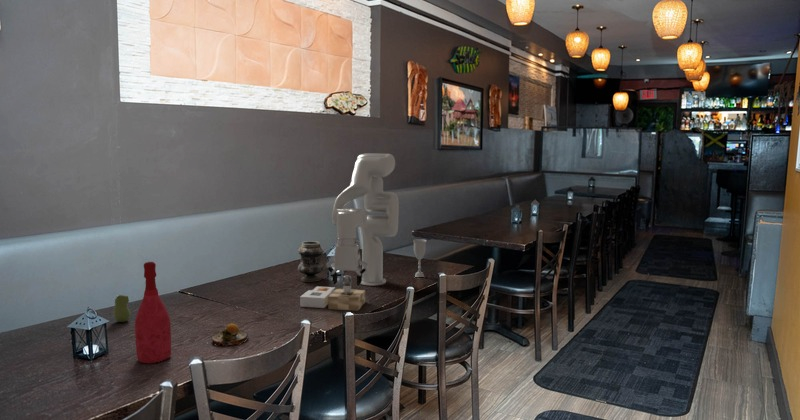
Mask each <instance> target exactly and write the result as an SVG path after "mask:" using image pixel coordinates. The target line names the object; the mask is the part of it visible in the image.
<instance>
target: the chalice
mask: <svg viewBox="0 0 800 420" xmlns="http://www.w3.org/2000/svg"><path fill="white" fill-rule="evenodd" d="M412 241H413V253H414V255H415V258H416V259H417V260H418V261H417V262H418V263H417V265H418V266H417V268H418V270H417V272H415V275H414V276H415V277H424V278H425V275H424V272H422V271H421V269H422V266H421V264H422V262H421V260H422V259H423V258H424V256H425V254H426V252H427V251H426V250H427V249H426V247H427V246H426V245H427V244H426V243H427V239H423V238H422V239H421V238H417V239H413V240H412ZM415 277H414V278H415Z"/></svg>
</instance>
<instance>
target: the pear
mask: <svg viewBox="0 0 800 420" xmlns="http://www.w3.org/2000/svg"><path fill="white" fill-rule="evenodd" d="M129 302H130V300H129V296H128V295H124V294H122V295H121V294H117V295H116V297H115V299H114V307H113V318H114V319H115V321H116V322H119V323H124V322H125V323H126V322H127V321H128V320H129V319H130V318H131V314H132V313H131V311H130V309H129V308H128V305H129Z"/></svg>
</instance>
